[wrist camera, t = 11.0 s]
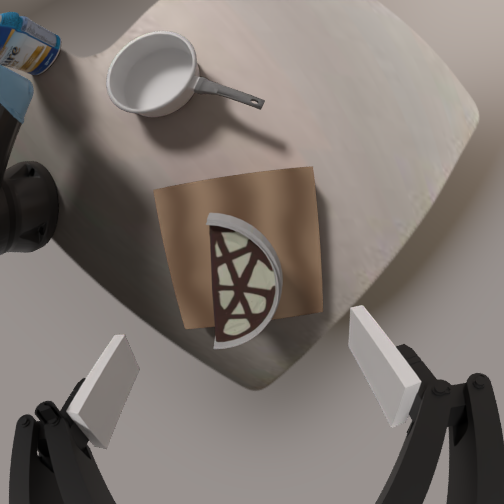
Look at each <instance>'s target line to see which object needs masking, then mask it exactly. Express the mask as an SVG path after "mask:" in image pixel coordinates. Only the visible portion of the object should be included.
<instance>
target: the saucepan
mask: <svg viewBox="0 0 504 504" xmlns="http://www.w3.org/2000/svg"><path fill="white" fill-rule="evenodd" d="M106 87H107V92H108V95H109V97H110V99H111V101H112V102H113V103H114V104H115V105H116V106H117V107H119V108H120V109H121V110H124V111H126V112H130V113H137V114H140V115H142V116H146V117H160V116H165V115H168V114H170V113H173V112H174V111H176V110H178V109H180V108H181V107H182V106H183V105H185V104H186V103H187V102H188V100H189V99H190V98H191V97H192V95H193V94H194V92H195V93H198V94H216V95H220V96H223V97H226V98H229V99H232V100H235V101H238V102H241V103H244V104H247V105H249V106H252V107H255V108H258V109H260V110H261V108H262V106H263V104H264V102H265V100H262V99H260V98H257V97H254V96H252V95H249V94H246V93H244V92H241V91H238V90H235V89H232V88H229V87H226V86H223V85H220V84H218V83H215V82H212V81H209V80H208V79H207V78H204V77H200V76H199V68H198V64H197V60H196V53H195V50H194V47H193V46H192V44H191V43H190V42H189V41H188V40H187V39H186V38H185V37H183V36H182V35H180V34H178V33H174V32H171V31H156V32H151V33H147V34H144V35H142V36H140V37H137V38H136V39H134V40H132V41H131V42H129V43H128V44H127V45H126V46H125V47H123V48H122V49H121V50H120V52H119V53H118V54H117V55H116V57H115V58H114V60H113V61H112V63H111V65H110V68H109V70H108V74H107V80H106ZM251 101H256V102H257V103H258V104H254V103H252V102H251Z"/></svg>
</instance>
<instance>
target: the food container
mask: <svg viewBox="0 0 504 504" xmlns="http://www.w3.org/2000/svg"><path fill="white" fill-rule="evenodd" d="M206 225H209V236H210V252H211V277H212V297H213V310H214V324H215V342H214V349H224V348H230V347H234V346H237V345H240V344H243V343H245V342H247V341H249V340H250V339H252V338H253V337H255V336H256V335H258V334H259V333H260V332H261V331H262V330H263V329H264V328H265V327H266V326H267V324H268V323H269V322H270V320H271V319H272V318H273V316H274V314H275V312H276V310H277V307H278V304H279V301H280V297H281V293H282V285H283V276H282V269H281V264H280V261H279V258H278V256H277V253H276V251H275V250H274V248H273V247H272V245H271V243H270V242H269V241H268V240H267V239H266V237H265V236H264V235H263V234H262V233H261V232H260V231H258V230H257V229H256V228H255V227H254V226H252V225H250V224H248V223H247V222H245V221H243V220H241V219H238V218H236V217H233V216H230V215H225V214H221V213H209V215H208V218H207V223H206Z"/></svg>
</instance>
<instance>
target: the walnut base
mask: <svg viewBox="0 0 504 504" xmlns="http://www.w3.org/2000/svg"><path fill="white" fill-rule="evenodd" d="M153 191H154V197H155V203H156V208H157V214H158V219H159V224H160V229H161V234H162V239H163V244H164V248H165V253H166V257H167V261H168V266H169V270H170V274H171V278H172V282H173V286H174V290H175V294H176V298H177V302H178V305H179V309H180V313H181V316H182V320H183V323H184V327H185V329H193V328H204V327H215V324H214V310H213V297H212V277H211V252H210V236H209V225H206V223H207V218H208V215H209V213H221V214H225V215H230V216H233V217H236V218H238V219H241V220H243V221H245V222H247V223H248V224H250V225H252V226H254V227H255V228H256V229H257V230H258V231H260V232H261V233H262V234H263V235H264V236H265V237H266V239H267V240H268V241H269V242H270V243H271V245H272V247H273V248H274V250H275V251H276V253H277V256H278V258H279V261H280V264H281V269H282V276H283V285H282V293H281V297H280V301H279V304H278V307H277V310H276V312H275V314H274V316H273V318H272V319H271V320H274V319H281V318H287V317H294V316H300V315H306V314H312V313H318V312H323V295H322V270H321V251H320V236H319V223H318V211H317V200H316V190H315V181H314V172H313V166H312V167H300V168H290V169H280V170H271V171H263V172H255V173H248V174H240V175H233V176H227V177H220V178H214V179H208V180H202V181H196V182H191V183H185V184H180V185H175V186H170V187H165V188H160V189H156V190H153Z"/></svg>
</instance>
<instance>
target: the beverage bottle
mask: <svg viewBox="0 0 504 504" xmlns="http://www.w3.org/2000/svg"><path fill="white" fill-rule="evenodd" d="M60 49H61V39H60V37H59V36H58V35H56V34H54V33H52V32H50V31H48V30H47V29H45V28H43V27H42V26H40V25H38V24H36V23H34V22H33V21H31V20H30V19H29V18H28V17H25V16H20V17H19V14H18V13H15V12H7V13H3V14H0V65H4V66H8V67H11V68H15V69H18V70H21V71H24V72H27V73H29V74H31V75H38V74H41V73H43V72H44V71H46V70H47V69H48V68H49V67H50V66H51V65H52V63H53V62H54V61H55V59H56V58H57V56H58V54H59V52H60Z"/></svg>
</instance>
